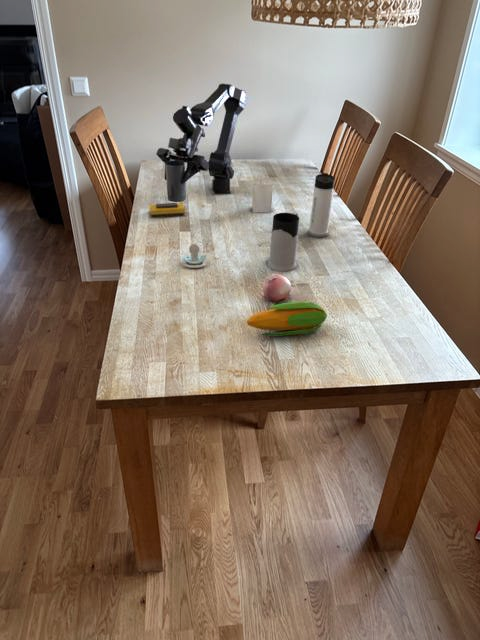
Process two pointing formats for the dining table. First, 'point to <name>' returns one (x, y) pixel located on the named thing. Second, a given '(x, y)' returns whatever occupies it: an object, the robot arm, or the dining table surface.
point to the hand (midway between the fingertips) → (173, 181)
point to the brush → (167, 210)
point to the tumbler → (175, 181)
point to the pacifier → (194, 257)
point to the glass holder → (284, 241)
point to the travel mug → (321, 205)
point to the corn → (289, 318)
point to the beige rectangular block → (262, 198)
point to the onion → (276, 288)
